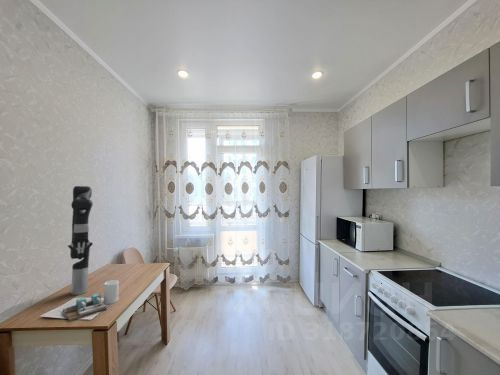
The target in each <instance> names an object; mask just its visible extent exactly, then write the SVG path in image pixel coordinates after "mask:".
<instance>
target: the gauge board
mask: <svg viewBox="0 0 500 375" xmlns="http://www.w3.org/2000/svg"><path fill="white" fill-rule="evenodd" d="M104 311H107V304H104V303H103V302H101V305H99V304H96V305H93V301H91V300H89V301H86V307H85V310H83V308H82V309H79V310H78V306H77V305H76V304H75V305H71V306H68V307H66V308H64V309H62V312H64V313H65V314H64V313H63V314H64V316H65V315H66V316H65V317H66V319H67V321H68V322H70V323H71V322H73V321H75V320H78V319H82V318H85V316H86V317H88V315H89V316H91V314H92V315H95V314H97V312H98V313H101V312H104ZM94 313H95V314H94Z"/></svg>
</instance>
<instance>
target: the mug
mask: <svg viewBox="0 0 500 375" xmlns="http://www.w3.org/2000/svg"><path fill="white" fill-rule="evenodd" d="M119 284H120V282H119V280H116V279H114V280H108V281H106V282H104V288H103V289H104V291H103V302H102V303H105V305H111V304H115V303H117V302H119V291H120V290H119V286H120V285H119Z"/></svg>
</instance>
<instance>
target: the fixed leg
mask: <svg viewBox="0 0 500 375" xmlns="http://www.w3.org/2000/svg"><path fill="white" fill-rule="evenodd" d="M90 298H91V299H90V301H93V305H96V304H99V305H101V303H102V294H100V292H98V293H95V294H91V297H90Z"/></svg>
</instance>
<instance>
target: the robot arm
mask: <svg viewBox="0 0 500 375" xmlns="http://www.w3.org/2000/svg"><path fill="white" fill-rule="evenodd" d="M92 190H93V189H92V188H91V187H90V186H88V185H87V186H86V185H84V186H83V185H78V186H77V185H76V186H73V188H72V202H71V208H72V221H71V243H70V244H68V245H67V247H68V248H69V249H70V254H69V255H70V259H72V260H76V259H78V260H80V261H77V262H75V263H73V264H72V267H71V268H72V272H71V290H70V293H71V295H73V296H75V295H76V296H77V295H83V294H85V293H87V292H88V286H89V265H90V264H89V262H90V261H89V260H90V249H91V246H93V242H92V241H90V240H89V231H90V229H89V228H90V227H89V218H90V217H89V216H90V213H91V210H92V207H93V203H94V202H93V201H92V200H91V197H92V194H93V191H92Z"/></svg>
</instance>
